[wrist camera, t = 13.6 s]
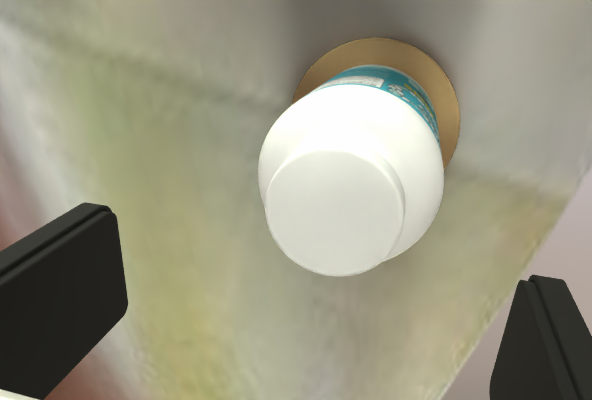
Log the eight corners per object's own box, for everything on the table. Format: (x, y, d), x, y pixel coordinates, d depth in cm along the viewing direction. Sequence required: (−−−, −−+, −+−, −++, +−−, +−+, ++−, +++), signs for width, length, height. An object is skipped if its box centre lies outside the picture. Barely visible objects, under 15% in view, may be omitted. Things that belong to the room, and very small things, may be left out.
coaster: (296, 32, 27) (293, 32, 26) (474, 43, 25) (476, 44, 24) (289, 189, 31) (286, 194, 30) (443, 210, 29) (443, 215, 28)
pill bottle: (441, 180, 27) (456, 314, 15) (320, 190, 30) (250, 314, 17) (432, 50, 25) (440, 88, 13) (301, 71, 27) (203, 121, 15)
